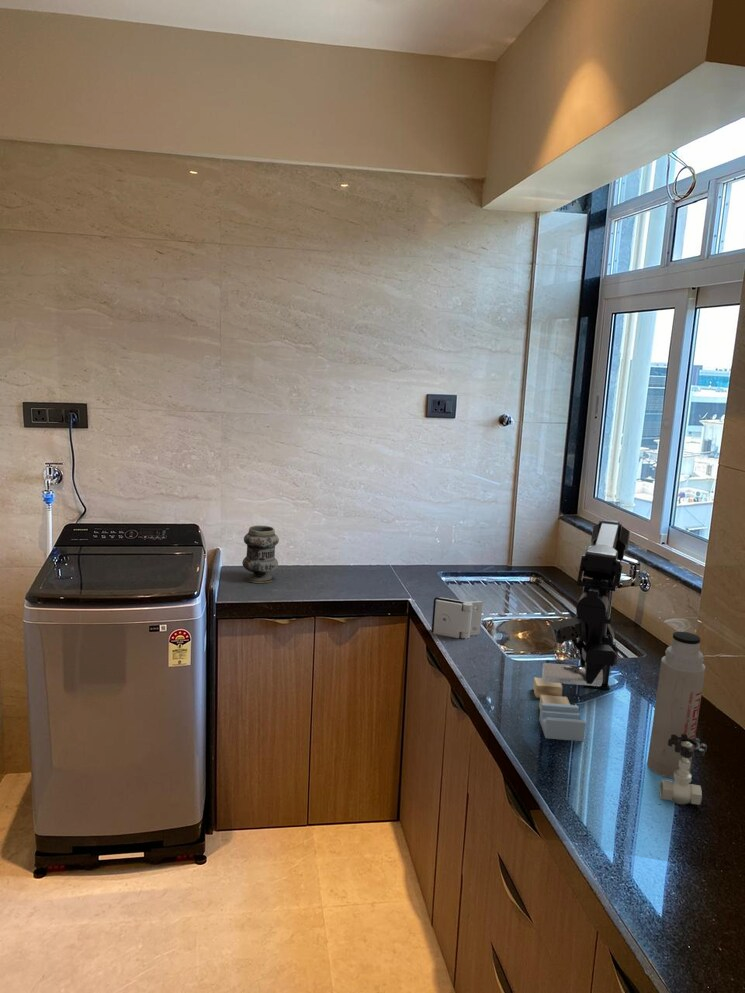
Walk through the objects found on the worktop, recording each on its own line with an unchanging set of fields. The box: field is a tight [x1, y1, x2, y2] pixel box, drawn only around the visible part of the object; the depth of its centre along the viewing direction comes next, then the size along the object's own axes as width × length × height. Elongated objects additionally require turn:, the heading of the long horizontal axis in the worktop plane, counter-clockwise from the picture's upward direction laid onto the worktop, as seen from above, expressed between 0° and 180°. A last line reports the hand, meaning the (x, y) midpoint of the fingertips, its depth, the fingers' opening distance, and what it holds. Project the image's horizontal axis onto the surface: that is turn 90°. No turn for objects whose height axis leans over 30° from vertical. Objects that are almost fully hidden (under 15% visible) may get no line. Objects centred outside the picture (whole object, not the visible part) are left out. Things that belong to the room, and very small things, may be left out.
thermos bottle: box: [646, 631, 706, 779], centre depth 146 cm, size 8×8×28 cm
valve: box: [658, 734, 708, 806], centre depth 136 cm, size 7×7×12 cm
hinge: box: [431, 596, 484, 640], centre depth 213 cm, size 14×5×10 cm, turn 83°
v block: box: [539, 703, 587, 742], centre depth 161 cm, size 8×8×4 cm
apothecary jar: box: [241, 525, 280, 584], centre depth 253 cm, size 12×12×18 cm
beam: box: [532, 676, 571, 711], centre depth 174 cm, size 6×14×3 cm, turn 177°
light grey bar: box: [541, 662, 603, 686], centre depth 160 cm, size 12×4×4 cm, turn 87°
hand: (586, 679), depth 160 cm, fingers closed on light grey bar, 4 cm apart
